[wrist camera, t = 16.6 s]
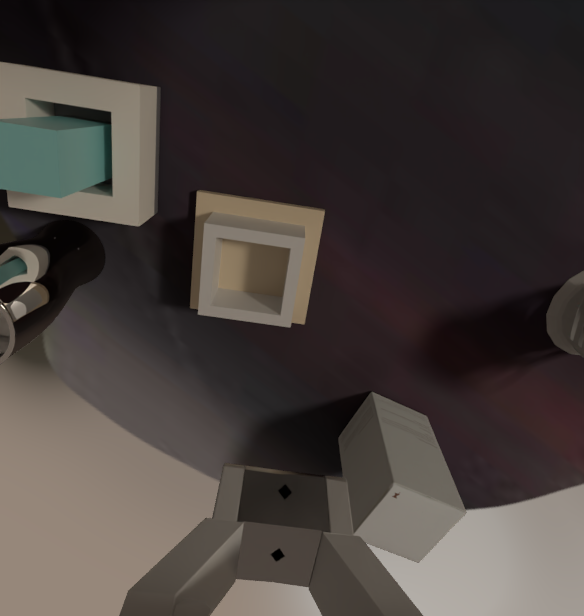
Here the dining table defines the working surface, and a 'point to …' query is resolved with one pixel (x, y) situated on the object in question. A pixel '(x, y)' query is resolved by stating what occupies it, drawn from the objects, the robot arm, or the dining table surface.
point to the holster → (253, 258)
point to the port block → (125, 138)
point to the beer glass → (43, 279)
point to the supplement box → (397, 479)
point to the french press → (568, 316)
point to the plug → (54, 154)
